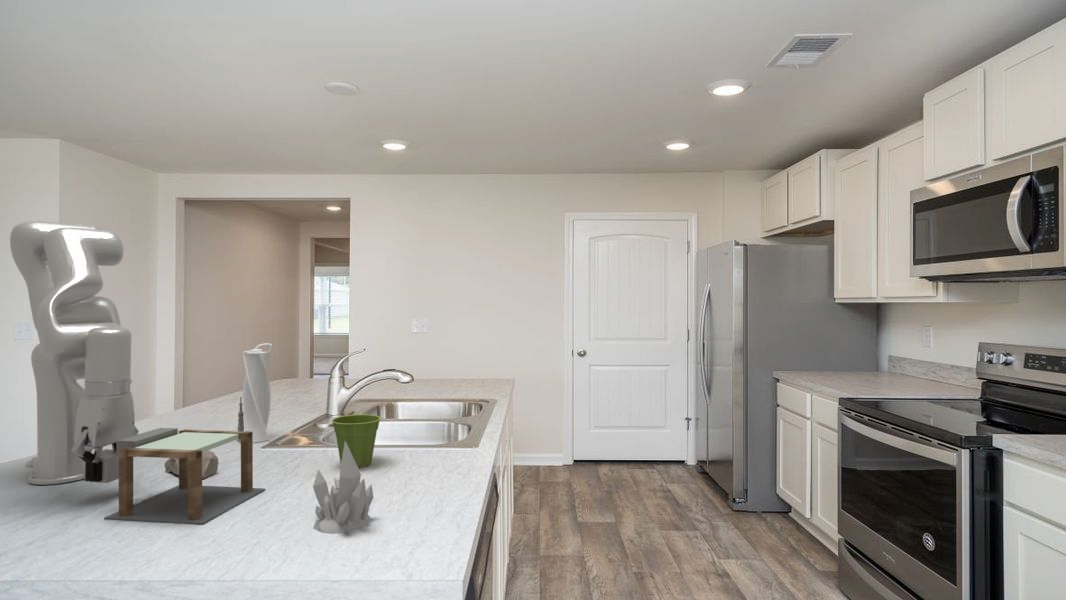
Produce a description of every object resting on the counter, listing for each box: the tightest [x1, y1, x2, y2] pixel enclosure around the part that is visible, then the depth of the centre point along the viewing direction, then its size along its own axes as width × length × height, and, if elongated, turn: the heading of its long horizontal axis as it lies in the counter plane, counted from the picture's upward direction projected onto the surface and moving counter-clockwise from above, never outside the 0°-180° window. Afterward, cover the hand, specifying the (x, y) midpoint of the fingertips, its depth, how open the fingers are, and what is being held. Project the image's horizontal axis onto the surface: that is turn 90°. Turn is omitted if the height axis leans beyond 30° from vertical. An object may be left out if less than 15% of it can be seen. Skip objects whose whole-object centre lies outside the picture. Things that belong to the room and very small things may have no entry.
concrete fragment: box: [164, 450, 219, 480], centre depth 135 cm, size 7×14×6 cm, turn 57°
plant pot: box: [330, 413, 382, 469], centre depth 142 cm, size 12×12×11 cm
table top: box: [103, 484, 266, 526], centre depth 115 cm, size 20×19×1 cm
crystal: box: [312, 441, 374, 535], centre depth 106 cm, size 10×13×15 cm
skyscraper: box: [236, 342, 273, 444], centre depth 166 cm, size 8×8×28 cm
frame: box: [118, 429, 254, 520], centre depth 115 cm, size 16×17×13 cm
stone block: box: [83, 448, 119, 484], centre depth 119 cm, size 5×5×5 cm
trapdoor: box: [116, 427, 239, 456], centre depth 116 cm, size 17×13×3 cm
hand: (106, 475), depth 119 cm, fingers closed on stone block, 5 cm apart
